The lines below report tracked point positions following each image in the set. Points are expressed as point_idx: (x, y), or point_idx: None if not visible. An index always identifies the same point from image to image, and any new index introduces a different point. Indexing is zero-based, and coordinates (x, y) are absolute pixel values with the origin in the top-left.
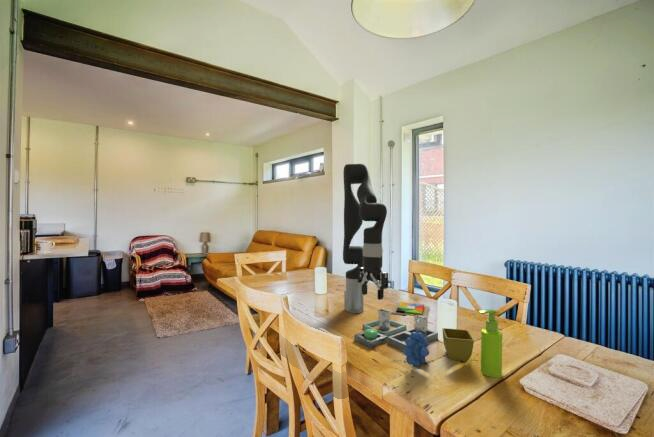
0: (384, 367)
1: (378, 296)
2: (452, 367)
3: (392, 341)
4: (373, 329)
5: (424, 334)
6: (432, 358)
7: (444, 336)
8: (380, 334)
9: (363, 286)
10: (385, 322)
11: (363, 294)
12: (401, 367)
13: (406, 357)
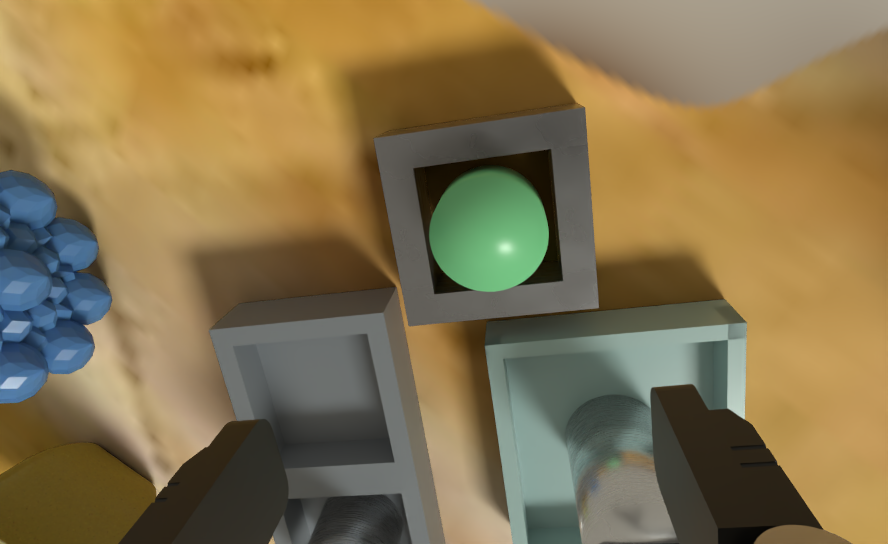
0: (142, 61)
1: (212, 448)
2: (42, 401)
3: (341, 310)
4: (509, 281)
5: (309, 539)
6: (153, 393)
7: (52, 541)
8: (469, 307)
9: (710, 515)
10: (581, 460)
11: (652, 388)
12: (112, 163)
13: (15, 183)
